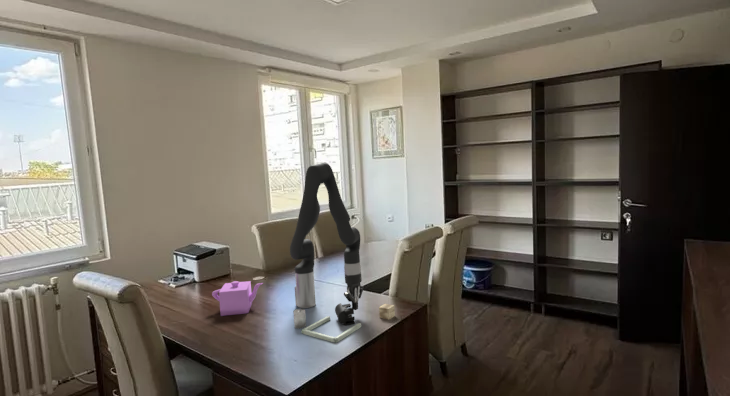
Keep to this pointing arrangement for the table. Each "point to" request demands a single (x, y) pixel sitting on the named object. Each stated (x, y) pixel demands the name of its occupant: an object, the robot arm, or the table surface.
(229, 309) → the teapot
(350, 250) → the robot arm
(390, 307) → the maple block
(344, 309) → the end cap
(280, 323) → the table surface
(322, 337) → the pale green frame
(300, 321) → the grey metal tin
